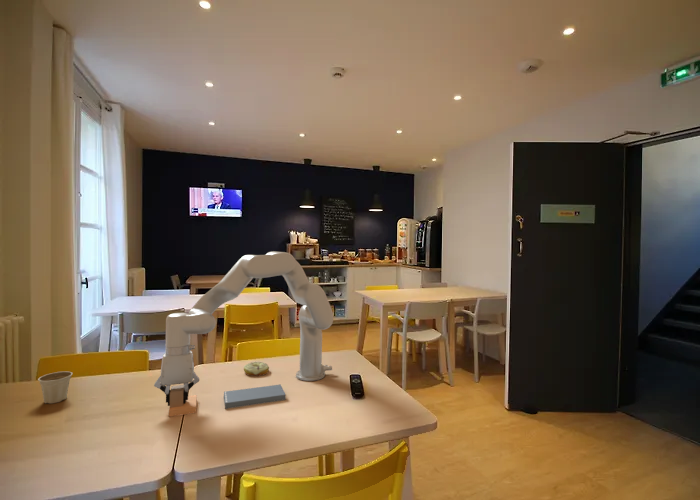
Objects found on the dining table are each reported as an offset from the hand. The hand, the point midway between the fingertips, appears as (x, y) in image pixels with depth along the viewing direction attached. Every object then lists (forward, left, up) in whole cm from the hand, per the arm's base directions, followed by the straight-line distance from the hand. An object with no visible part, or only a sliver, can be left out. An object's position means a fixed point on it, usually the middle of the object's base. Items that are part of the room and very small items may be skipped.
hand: (177, 402), depth 119 cm
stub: (-2, 0, -2) cm, 3 cm away
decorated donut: (-30, -27, -3) cm, 40 cm away
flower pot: (+41, -22, -3) cm, 46 cm away
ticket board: (-26, 0, -2) cm, 26 cm away
